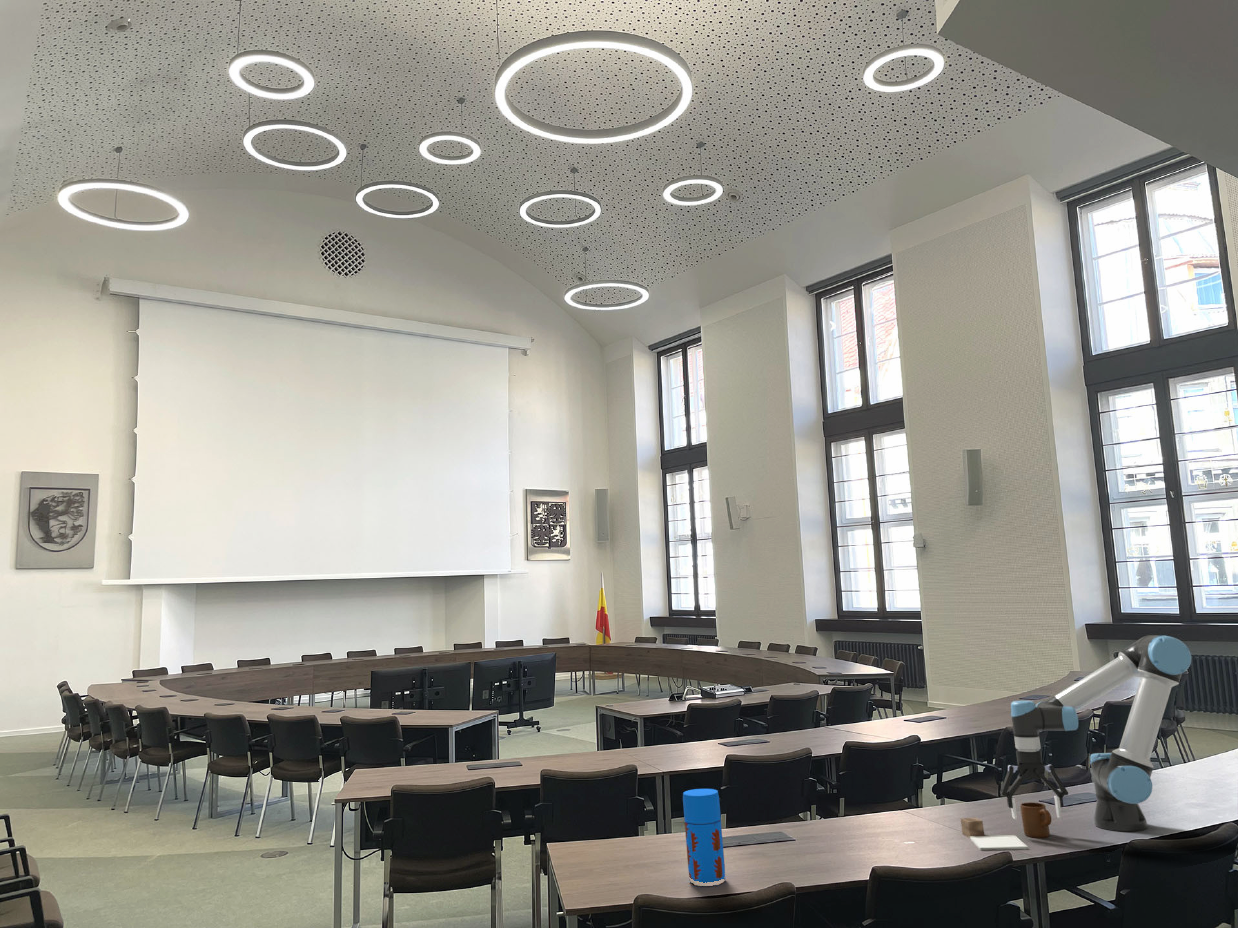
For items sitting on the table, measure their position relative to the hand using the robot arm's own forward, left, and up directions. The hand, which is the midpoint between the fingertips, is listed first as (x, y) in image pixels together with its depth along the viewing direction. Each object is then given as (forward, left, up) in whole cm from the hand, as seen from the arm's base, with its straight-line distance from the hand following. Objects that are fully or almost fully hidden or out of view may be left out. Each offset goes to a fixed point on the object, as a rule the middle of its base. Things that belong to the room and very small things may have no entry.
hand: (1037, 818), depth 271 cm
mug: (0, 0, -6) cm, 6 cm away
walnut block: (+20, -4, -6) cm, 21 cm away
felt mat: (+15, +7, -6) cm, 17 cm away
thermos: (+105, +40, -6) cm, 112 cm away
